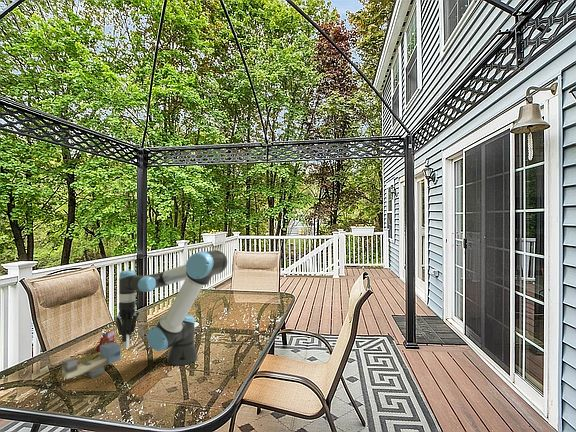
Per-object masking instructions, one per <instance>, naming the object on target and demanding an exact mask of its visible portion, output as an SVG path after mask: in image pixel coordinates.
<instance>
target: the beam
mask: <svg viewBox="0 0 576 432" xmlns="http://www.w3.org/2000/svg"><path fill="white" fill-rule="evenodd" d="M77 360H78V359H76V358H75V359H74V358H72V357H70V358H67V359H63V360H61V371H62V372H61V373H62V374H61V376H62V377H61V378H63V379H65V380H68V379H71V378H75V377H77V376H80V375H83V376H86V377H87V378H89V379H93V378H96V377H99V376H102V375H105V366H108V365H111V364H113V363H116V362H118V361H116V362H113V363H110V364H107V358H104V357H101V358H98V359H95V360H92V361H89V362H85V363H82V364H80V365H77ZM121 360H123V352H122V353H121V352H120V360H119V361H121Z"/></svg>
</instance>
